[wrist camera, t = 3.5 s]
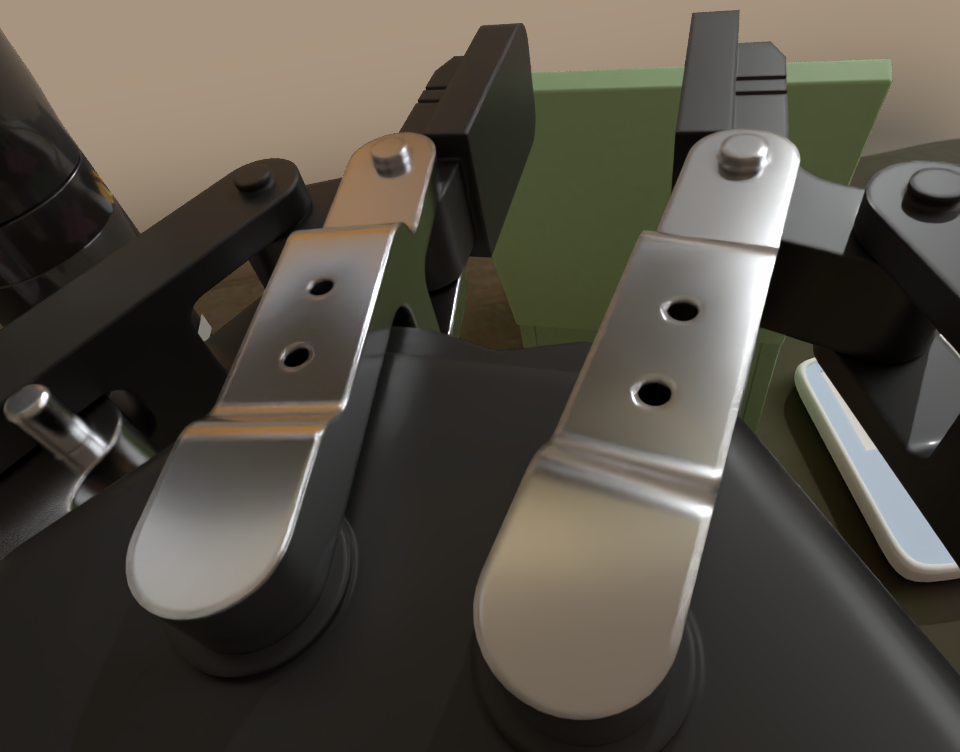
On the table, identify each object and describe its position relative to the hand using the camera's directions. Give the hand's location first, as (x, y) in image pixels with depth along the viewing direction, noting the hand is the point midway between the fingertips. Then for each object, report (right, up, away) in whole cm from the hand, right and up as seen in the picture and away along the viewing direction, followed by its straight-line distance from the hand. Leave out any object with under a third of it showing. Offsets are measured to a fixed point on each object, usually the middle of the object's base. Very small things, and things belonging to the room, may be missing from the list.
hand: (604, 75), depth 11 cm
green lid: (+4, 0, +13) cm, 13 cm away
